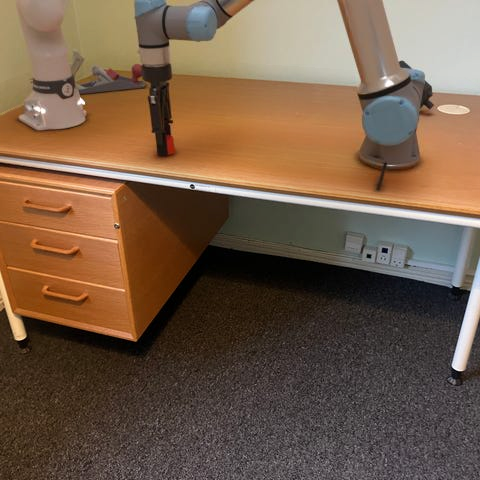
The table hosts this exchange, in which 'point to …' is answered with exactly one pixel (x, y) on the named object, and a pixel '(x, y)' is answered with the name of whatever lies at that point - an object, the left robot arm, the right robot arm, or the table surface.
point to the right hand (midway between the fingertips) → (165, 150)
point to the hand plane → (105, 77)
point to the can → (170, 144)
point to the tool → (426, 90)
